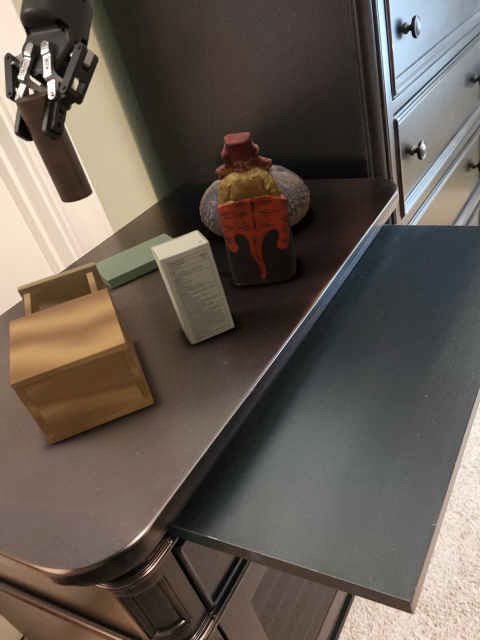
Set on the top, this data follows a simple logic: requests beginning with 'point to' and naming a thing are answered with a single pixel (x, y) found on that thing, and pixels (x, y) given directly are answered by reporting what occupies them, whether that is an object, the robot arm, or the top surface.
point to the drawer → (61, 288)
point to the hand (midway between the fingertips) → (37, 137)
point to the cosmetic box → (194, 286)
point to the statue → (253, 215)
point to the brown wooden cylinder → (55, 151)
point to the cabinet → (76, 366)
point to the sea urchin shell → (286, 182)
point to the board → (130, 263)
